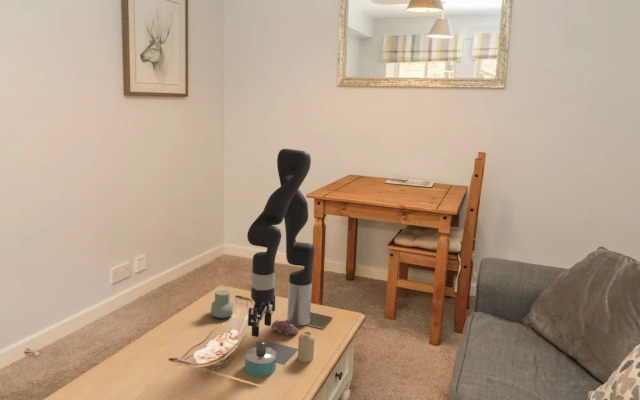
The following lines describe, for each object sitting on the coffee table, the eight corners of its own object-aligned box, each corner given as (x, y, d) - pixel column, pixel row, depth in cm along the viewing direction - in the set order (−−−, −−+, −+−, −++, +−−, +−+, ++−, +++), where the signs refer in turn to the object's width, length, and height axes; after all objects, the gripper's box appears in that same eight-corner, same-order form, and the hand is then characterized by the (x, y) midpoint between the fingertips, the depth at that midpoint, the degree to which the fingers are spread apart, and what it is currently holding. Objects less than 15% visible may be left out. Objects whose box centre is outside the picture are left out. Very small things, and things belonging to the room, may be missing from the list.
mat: (269, 343, 193) (269, 341, 192) (298, 350, 188) (298, 349, 188) (253, 357, 182) (253, 356, 182) (284, 366, 177) (284, 364, 177)
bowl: (254, 359, 180) (254, 346, 179) (280, 366, 177) (280, 353, 176) (239, 373, 171) (239, 359, 170) (266, 381, 168) (267, 367, 167)
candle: (311, 364, 179) (312, 338, 177) (295, 362, 180) (297, 335, 178) (314, 357, 185) (316, 331, 182) (299, 354, 186) (301, 328, 183)
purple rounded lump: (272, 335, 202) (268, 324, 198) (276, 326, 205) (273, 315, 201) (295, 341, 198) (292, 329, 194) (299, 332, 202) (297, 320, 198)
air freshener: (212, 309, 218) (213, 287, 216) (232, 309, 219) (233, 287, 217) (210, 321, 208) (210, 297, 206) (231, 321, 209) (231, 298, 207)
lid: (254, 346, 180) (255, 333, 179) (281, 353, 176) (282, 340, 175) (239, 359, 170) (239, 346, 169) (267, 367, 166) (268, 353, 165)
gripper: (263, 275, 175) (261, 319, 179) (241, 290, 162) (240, 337, 166) (283, 279, 173) (281, 324, 176) (262, 294, 160) (261, 342, 163)
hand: (261, 330), depth 171 cm, fingers open, 8 cm apart
